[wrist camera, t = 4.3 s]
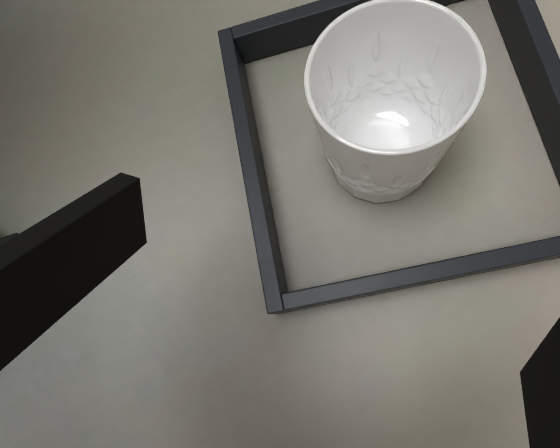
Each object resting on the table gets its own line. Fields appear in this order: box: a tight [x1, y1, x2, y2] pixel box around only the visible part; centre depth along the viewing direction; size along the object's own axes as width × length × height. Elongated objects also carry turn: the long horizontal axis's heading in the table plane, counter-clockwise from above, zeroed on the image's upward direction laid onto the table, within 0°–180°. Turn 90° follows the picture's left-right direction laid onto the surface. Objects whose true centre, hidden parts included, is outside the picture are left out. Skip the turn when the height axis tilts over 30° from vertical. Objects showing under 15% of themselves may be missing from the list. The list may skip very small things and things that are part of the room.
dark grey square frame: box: [218, 0, 560, 314], centre depth 26 cm, size 20×20×3 cm
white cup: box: [304, 0, 487, 203], centre depth 23 cm, size 8×8×10 cm
